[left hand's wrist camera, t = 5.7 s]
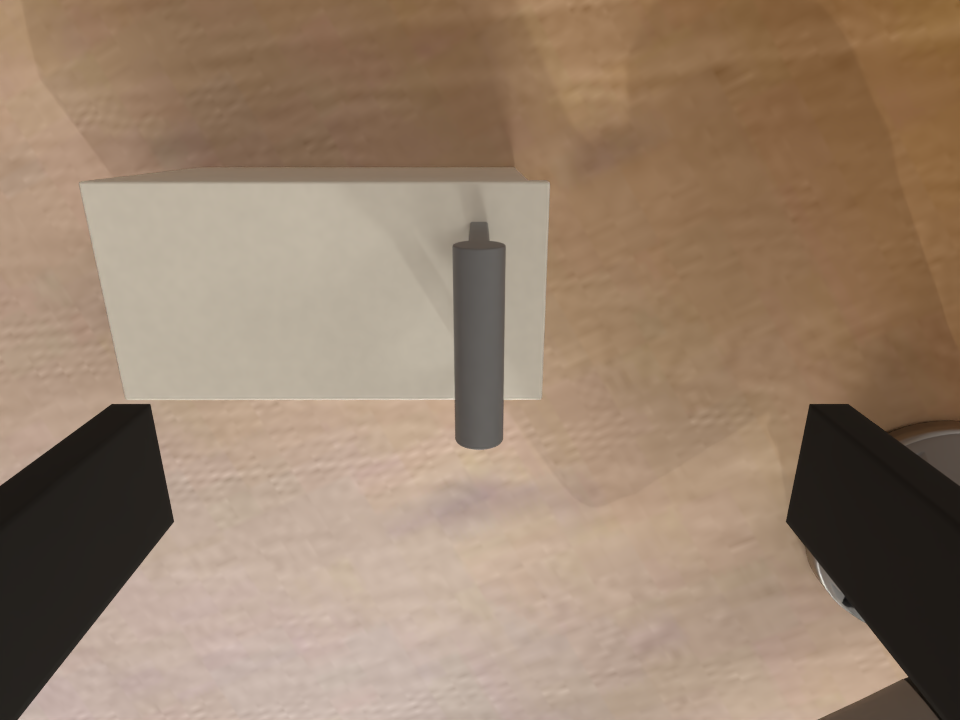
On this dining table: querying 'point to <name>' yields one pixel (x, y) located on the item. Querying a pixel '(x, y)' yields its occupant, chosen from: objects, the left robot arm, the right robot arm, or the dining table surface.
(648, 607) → the dining table surface
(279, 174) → the chest
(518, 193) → the lid
